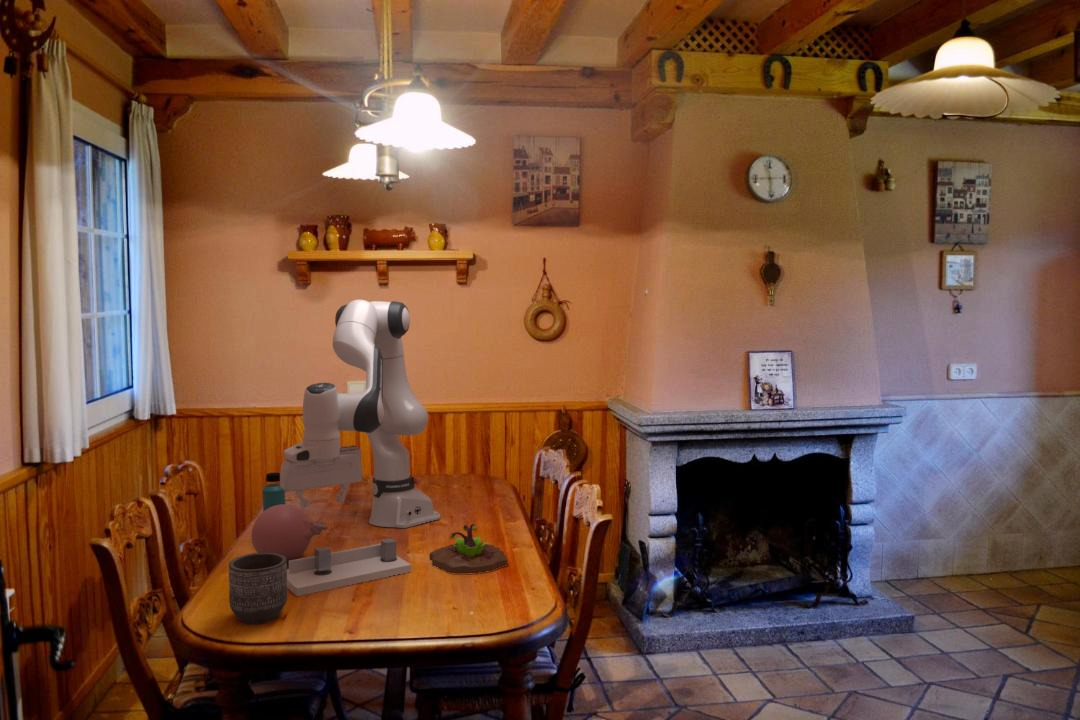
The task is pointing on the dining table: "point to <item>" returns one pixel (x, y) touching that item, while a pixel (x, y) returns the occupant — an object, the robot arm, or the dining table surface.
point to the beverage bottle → (273, 492)
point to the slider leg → (322, 558)
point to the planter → (258, 587)
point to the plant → (468, 554)
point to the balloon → (284, 531)
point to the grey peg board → (346, 568)
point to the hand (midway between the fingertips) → (322, 503)
